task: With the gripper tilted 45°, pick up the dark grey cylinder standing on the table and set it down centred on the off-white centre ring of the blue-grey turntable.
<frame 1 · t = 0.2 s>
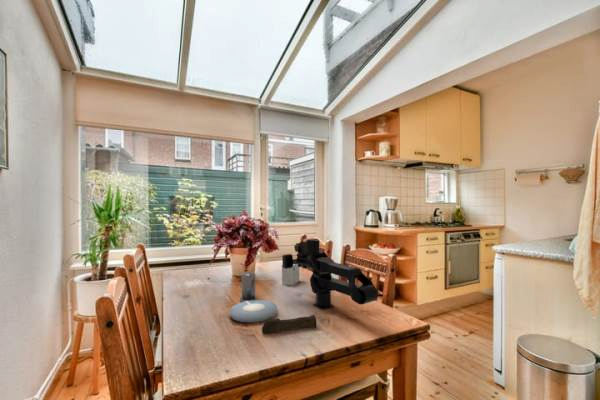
hand: (291, 257, 141), 17 cm above the table, tool horizontal, fingers open, 9 cm apart
turntable: (254, 309, 111), point 2 cm above the table, hinge at 0.0°
light bulb box: (291, 283, 155), on the table
cupcake: (320, 287, 145), on the table
dark grey cylinder: (248, 300, 127), on the table
hand tool: (290, 331, 97), on the table
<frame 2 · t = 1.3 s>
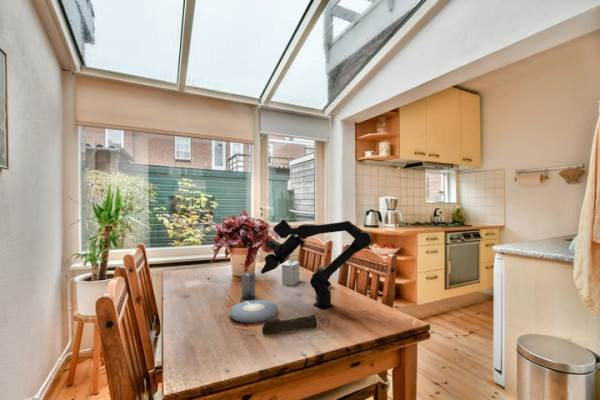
hand: (265, 270, 126), 14 cm above the table, tool tilted 45°, fingers open, 9 cm apart
nothing on the table moved.
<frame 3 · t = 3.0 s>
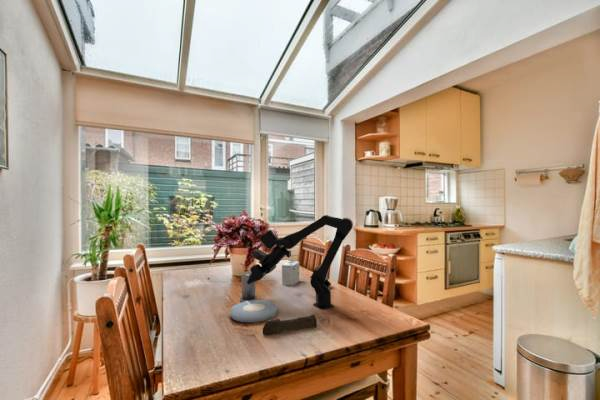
hand: (251, 280, 127), 9 cm above the table, tool tilted 45°, fingers open, 9 cm apart
nothing on the table moved.
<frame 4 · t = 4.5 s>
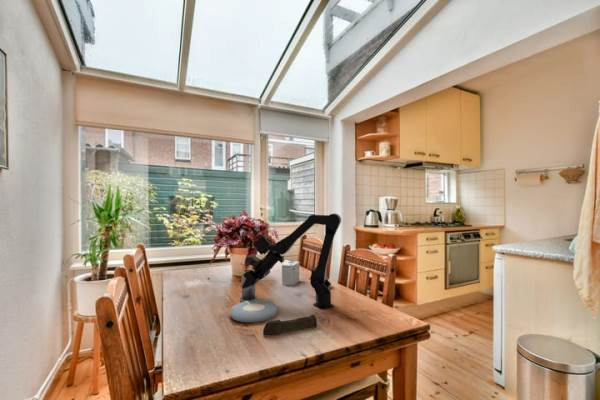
hand: (245, 285, 127), 7 cm above the table, tool tilted 45°, fingers closed on dark grey cylinder, 6 cm apart
dark grey cylinder: (248, 300, 127), on the table, touching gripper
everything else where it was.
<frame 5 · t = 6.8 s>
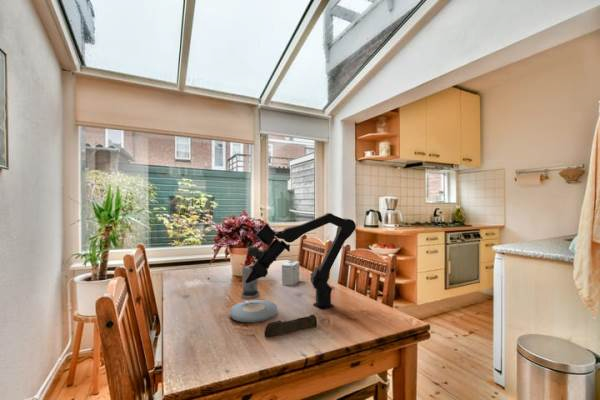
hand: (246, 280, 116), 12 cm above the table, tool tilted 45°, fingers closed on dark grey cylinder, 6 cm apart
dark grey cylinder: (250, 296, 116), point 6 cm above the table, touching gripper
when the fingers open (10 cm above the table, at t = 8.8 s): dark grey cylinder drops 1 cm, resting on turntable.
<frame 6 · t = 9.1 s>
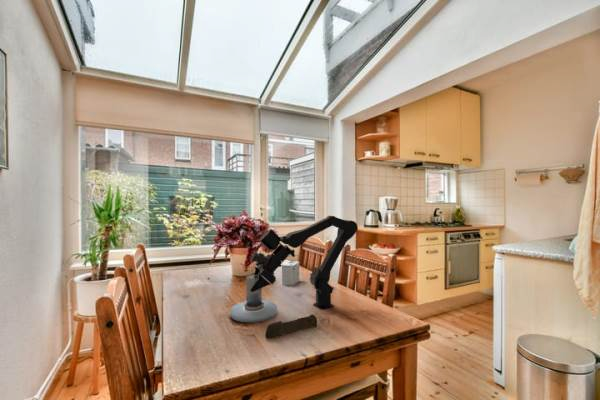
hand: (250, 287, 111), 11 cm above the table, tool tilted 45°, fingers open, 9 cm apart
turntable: (254, 309, 111), point 2 cm above the table, hinge at 0.0°, touching dark grey cylinder
dark grey cylinder: (254, 307, 111), point 3 cm above the table, touching turntable
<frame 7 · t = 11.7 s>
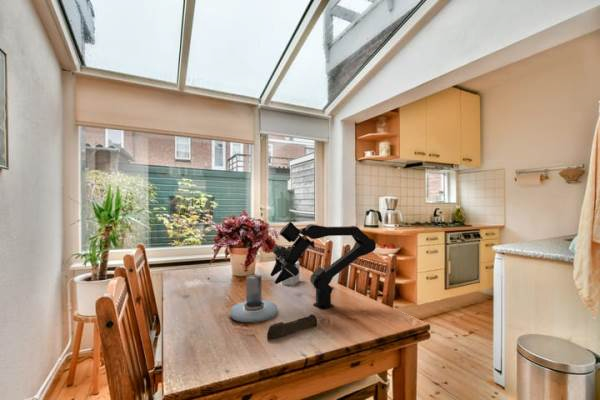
hand: (273, 279, 115), 13 cm above the table, tool tilted 40°, fingers open, 9 cm apart
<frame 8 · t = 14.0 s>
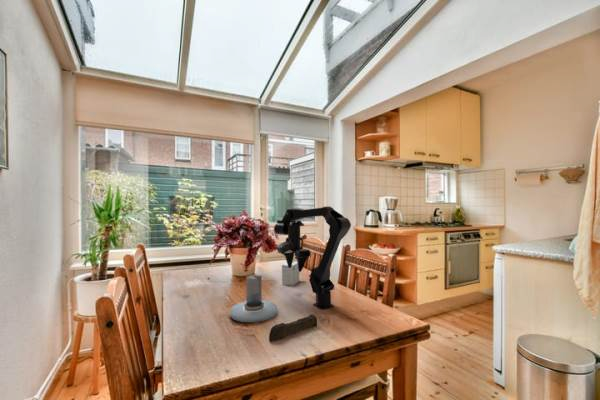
hand: (294, 269, 129), 13 cm above the table, tool pointing down, fingers open, 9 cm apart
at the end: dark grey cylinder 0.1 cm from the turntable (horizontally); dark grey cylinder tilted 0°; the gripper is holding nothing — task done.
